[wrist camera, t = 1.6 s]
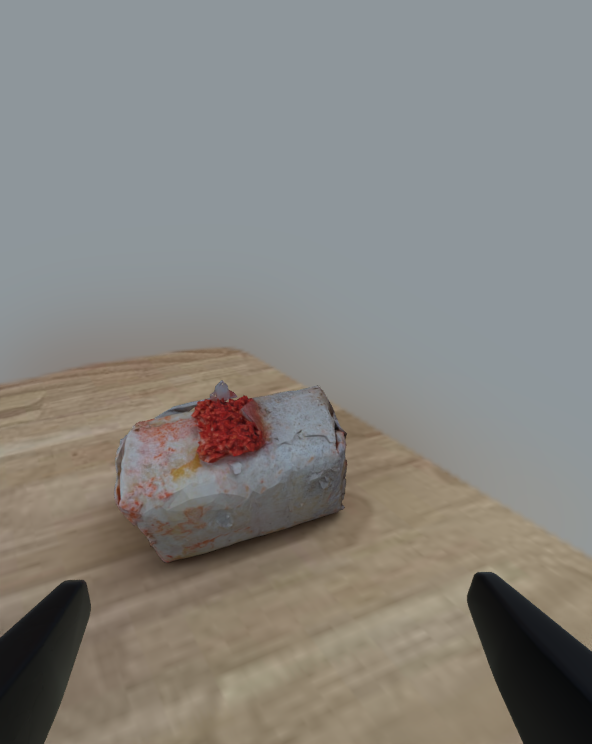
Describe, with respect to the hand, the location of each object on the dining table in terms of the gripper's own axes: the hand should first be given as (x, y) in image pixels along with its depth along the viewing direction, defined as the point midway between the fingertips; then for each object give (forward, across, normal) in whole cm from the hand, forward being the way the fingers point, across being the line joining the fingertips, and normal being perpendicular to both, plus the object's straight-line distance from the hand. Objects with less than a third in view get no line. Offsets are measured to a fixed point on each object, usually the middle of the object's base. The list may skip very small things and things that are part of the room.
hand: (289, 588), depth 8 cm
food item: (+15, +2, +11) cm, 19 cm away
